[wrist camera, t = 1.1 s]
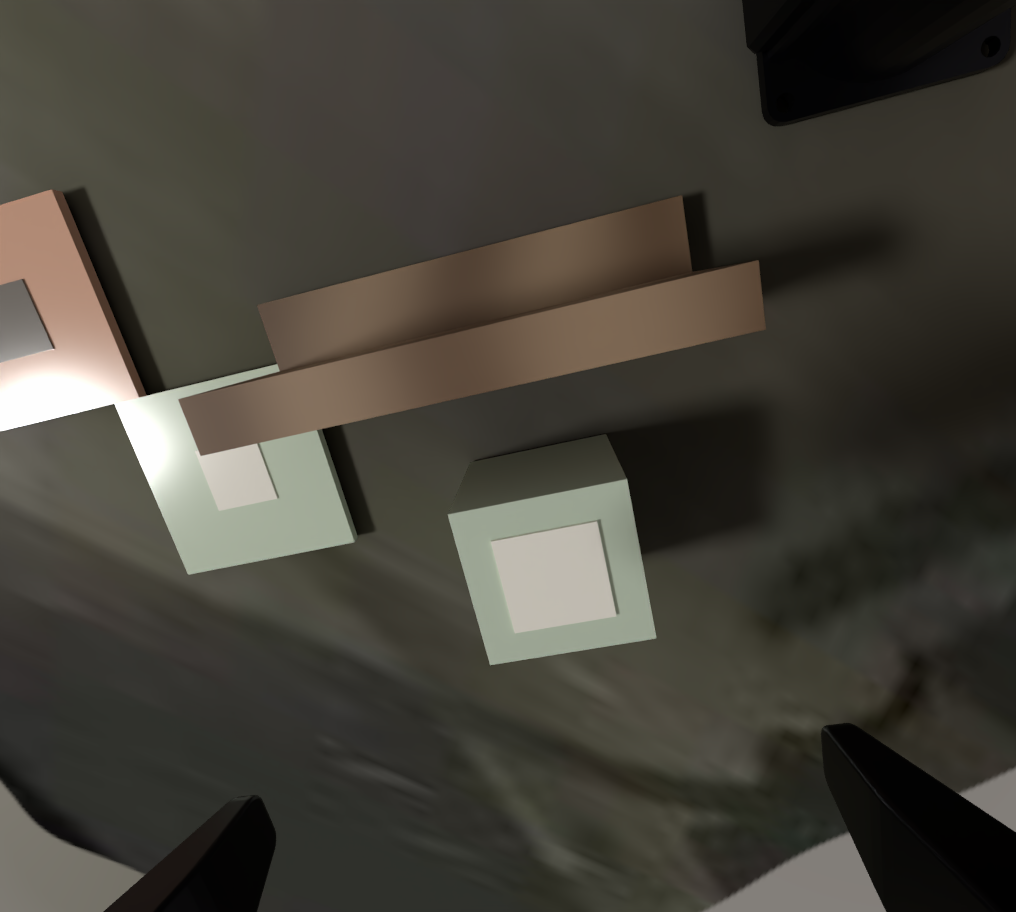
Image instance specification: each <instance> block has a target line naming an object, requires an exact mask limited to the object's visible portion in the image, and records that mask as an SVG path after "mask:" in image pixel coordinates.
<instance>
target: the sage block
mask: <svg viewBox="0 0 1016 912" xmlns="http://www.w3.org/2000/svg"><path fill="white" fill-rule="evenodd" d="M448 518H449V521H450V525H451V528H452V532H453V535H454V539H455V542H456V546H457V549H458V553H459V556H460V560H461V564H462V567H463V571H464V574H465V578H466V581H467V585H468V588H469V592H470V595H471V599H472V602H473V606H474V610H475V613H476V617H477V620H478V624H479V627H480V631H481V634H482V638H483V641H484V645H485V648H486V652H487V656H488V659H489V663H490V665H494V664H500V663H506V662H512V661H519V660H525V659H531V658H537V657H544V656H550V655H556V654H562V653H568V652H575V651H581V650H587V649H593V648H599V647H606V646H612V645H618V644H624V643H630V642H637V641H643V640H649V639H655V638H656V634H655V628H654V623H653V617H652V612H651V606H650V601H649V596H648V590H647V585H646V579H645V574H644V568H643V563H642V558H641V552H640V547H639V541H638V536H637V530H636V525H635V519H634V514H633V509H632V503H631V498H630V492H629V487H628V481H627V478H626V476H625V474H624V472H623V469H622V467H621V465H620V463H619V461H618V459H617V457H616V454H615V452H614V450H613V448H612V446H611V444H610V442H609V440H608V437H607V435H606V434H603V435H599V436H594V437H589V438H584V439H579V440H575V441H570V442H565V443H560V444H555V445H551V446H546V447H541V448H536V449H532V450H527V451H522V452H517V453H512V454H508V455H503V456H498V457H493V458H488V459H484V460H479V461H474V462H470V465H469V467H468V469H467V471H466V474H465V476H464V478H463V481H462V483H461V485H460V488H459V490H458V492H457V494H456V497H455V499H454V501H453V504H452V506H451V508H450V510H449V513H448Z"/></svg>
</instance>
